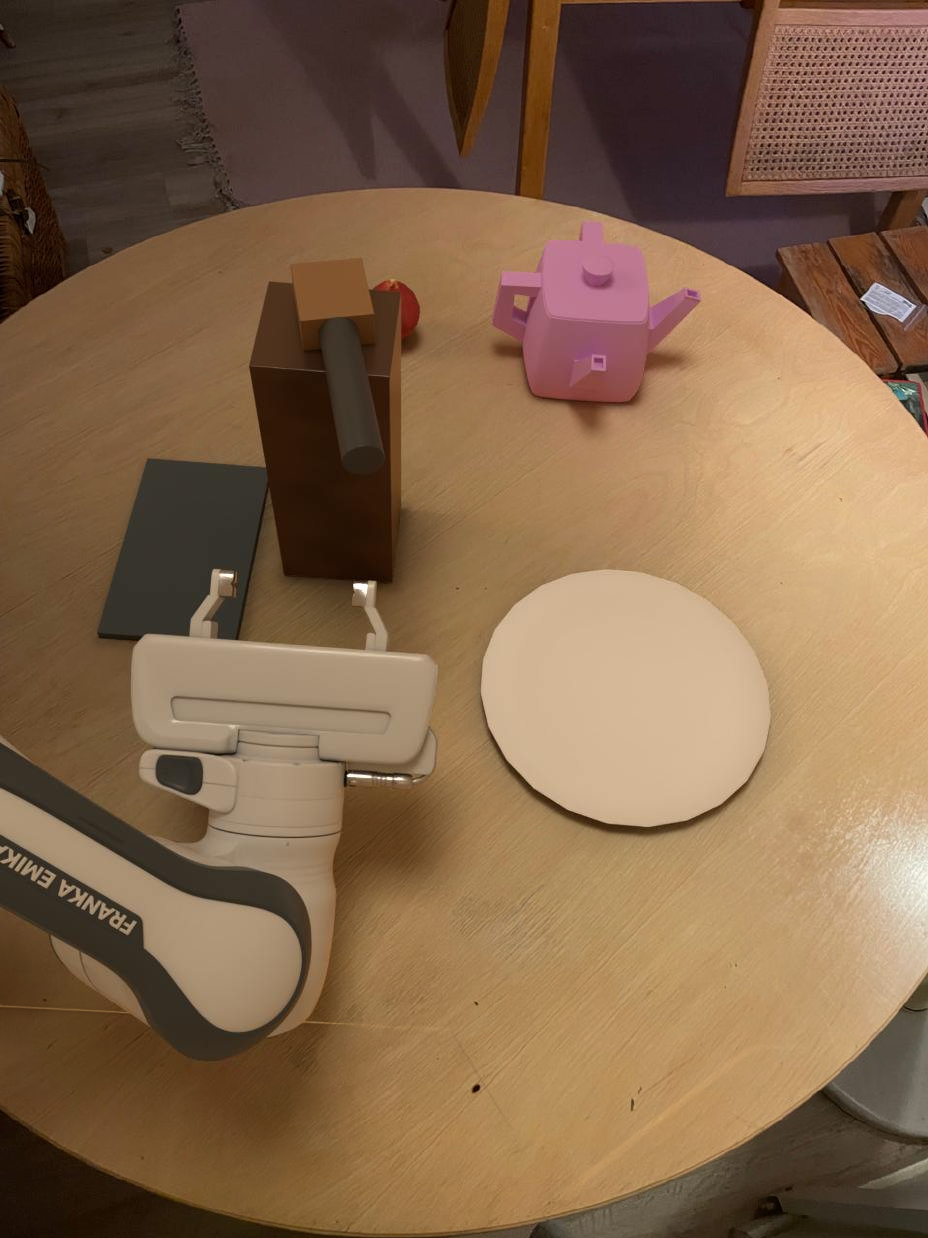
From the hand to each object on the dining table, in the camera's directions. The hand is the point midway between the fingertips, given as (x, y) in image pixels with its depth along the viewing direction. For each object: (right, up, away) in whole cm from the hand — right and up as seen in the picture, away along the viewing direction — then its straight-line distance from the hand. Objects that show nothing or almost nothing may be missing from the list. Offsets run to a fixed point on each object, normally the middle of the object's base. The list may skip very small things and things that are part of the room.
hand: (295, 575), depth 70 cm
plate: (+25, -10, +20) cm, 34 cm away
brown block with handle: (+3, +14, +3) cm, 15 cm away
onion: (+4, +27, +43) cm, 51 cm away
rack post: (0, +5, +28) cm, 28 cm away
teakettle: (+24, +25, +42) cm, 55 cm away
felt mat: (-14, +3, +26) cm, 30 cm away
